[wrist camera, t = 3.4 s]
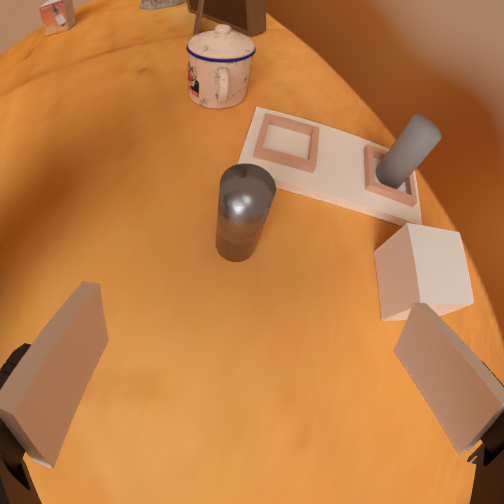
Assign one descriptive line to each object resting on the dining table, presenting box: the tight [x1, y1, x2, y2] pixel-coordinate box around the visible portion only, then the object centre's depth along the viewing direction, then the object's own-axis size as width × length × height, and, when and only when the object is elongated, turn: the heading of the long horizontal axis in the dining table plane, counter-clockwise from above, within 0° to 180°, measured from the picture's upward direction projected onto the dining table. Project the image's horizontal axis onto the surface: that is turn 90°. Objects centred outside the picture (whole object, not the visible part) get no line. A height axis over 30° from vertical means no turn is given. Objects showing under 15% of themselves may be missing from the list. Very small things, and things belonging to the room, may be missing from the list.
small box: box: [39, 0, 76, 36], centre depth 43 cm, size 8×6×10 cm
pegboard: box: [238, 107, 441, 227], centre depth 31 cm, size 24×12×12 cm, turn 78°
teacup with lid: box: [187, 24, 256, 109], centre depth 33 cm, size 12×9×12 cm
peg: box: [216, 163, 276, 262], centre depth 25 cm, size 4×4×10 cm
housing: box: [374, 223, 474, 321], centre depth 28 cm, size 8×8×7 cm
